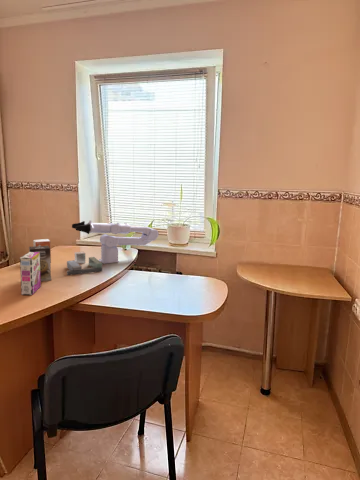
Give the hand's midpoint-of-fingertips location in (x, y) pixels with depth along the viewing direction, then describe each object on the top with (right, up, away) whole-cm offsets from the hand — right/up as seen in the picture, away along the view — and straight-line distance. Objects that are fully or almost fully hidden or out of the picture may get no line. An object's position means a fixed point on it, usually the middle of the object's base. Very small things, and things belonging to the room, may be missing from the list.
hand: (73, 227), depth 182 cm
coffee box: (-9, -27, -21) cm, 35 cm away
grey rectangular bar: (+2, -23, -5) cm, 24 cm away
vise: (+5, -23, -3) cm, 24 cm away
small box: (-20, -20, +7) cm, 29 cm away
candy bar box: (-7, -30, -36) cm, 47 cm away
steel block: (0, -20, +10) cm, 23 cm away
